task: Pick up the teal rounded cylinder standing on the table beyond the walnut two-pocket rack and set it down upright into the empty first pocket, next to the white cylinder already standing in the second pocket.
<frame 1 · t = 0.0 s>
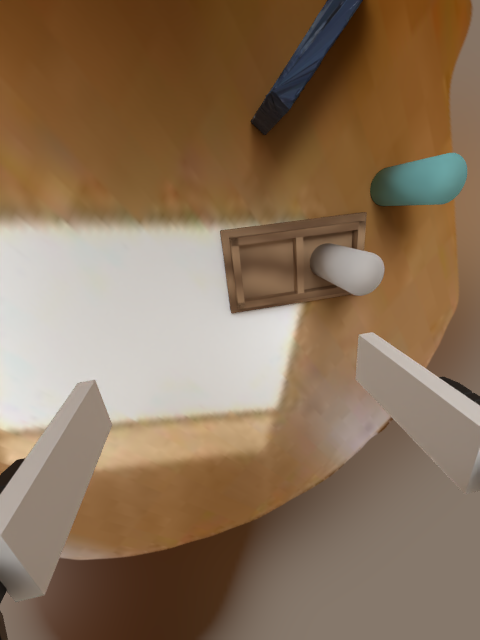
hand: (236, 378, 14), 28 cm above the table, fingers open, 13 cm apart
vhs cassette tape: (303, 58, 32), on the table
teal rounded cylinder: (386, 187, 39), on the table
rack: (294, 263, 41), on the table
white cylinder: (325, 260, 40), point 1 cm above the table, touching rack
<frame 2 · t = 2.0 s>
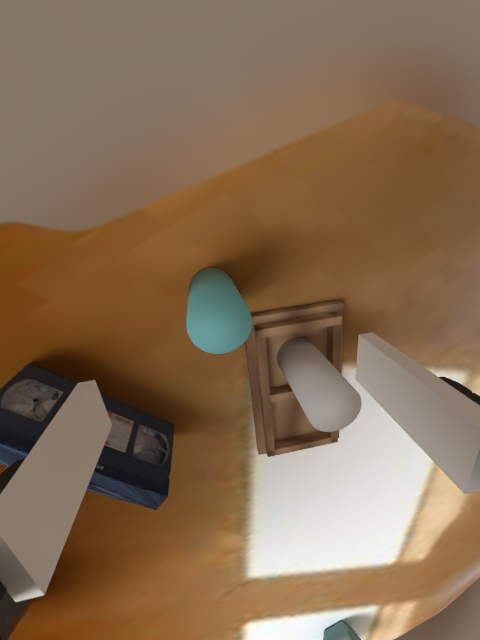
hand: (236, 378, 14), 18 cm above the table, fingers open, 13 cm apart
vhs cassette tape: (104, 402, 33), on the table
teal rounded cylinder: (212, 290, 30), on the table
flower pot: (336, 626, 64), on the table
rack: (294, 381, 36), on the table
white cylinder: (296, 355, 33), point 1 cm above the table, touching rack
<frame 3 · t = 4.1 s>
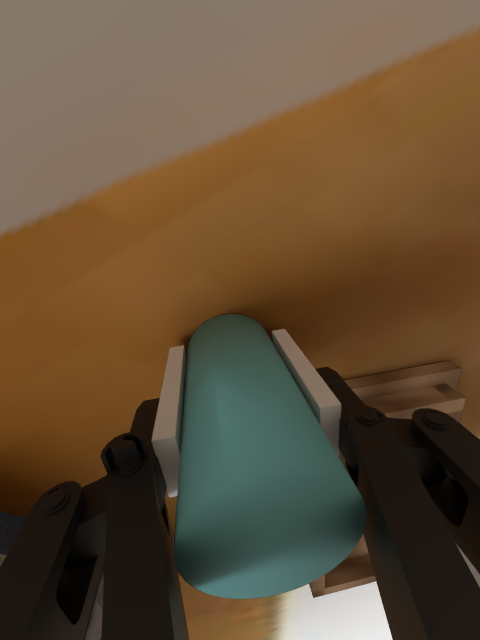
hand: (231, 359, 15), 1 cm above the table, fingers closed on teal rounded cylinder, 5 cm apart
vhs cassette tape: (45, 529, 20), on the table
teal rounded cylinder: (230, 353, 16), on the table, touching gripper
rack: (358, 482, 22), on the table
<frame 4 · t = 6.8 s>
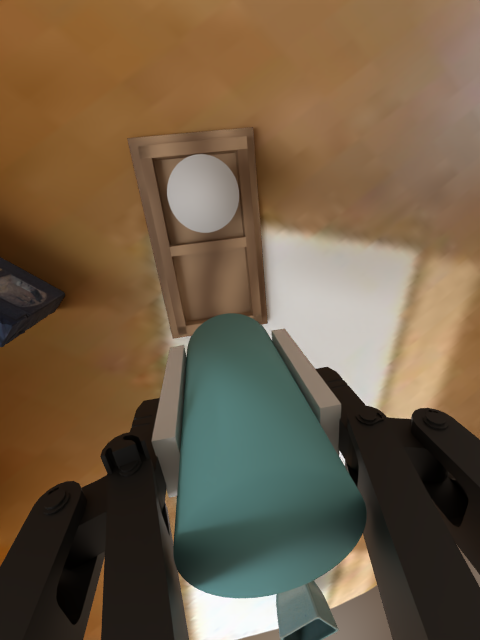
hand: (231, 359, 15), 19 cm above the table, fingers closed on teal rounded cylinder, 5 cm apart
teal rounded cylinder: (229, 352, 16), point 18 cm above the table, touching gripper
flower pot: (294, 575, 59), on the table
rack: (207, 244, 31), on the table
white cylinder: (201, 200, 28), point 1 cm above the table, touching rack
when the fingers open (4 cm above the table, at t = 9.8 s): teal rounded cylinder stays where it is, resting on rack.
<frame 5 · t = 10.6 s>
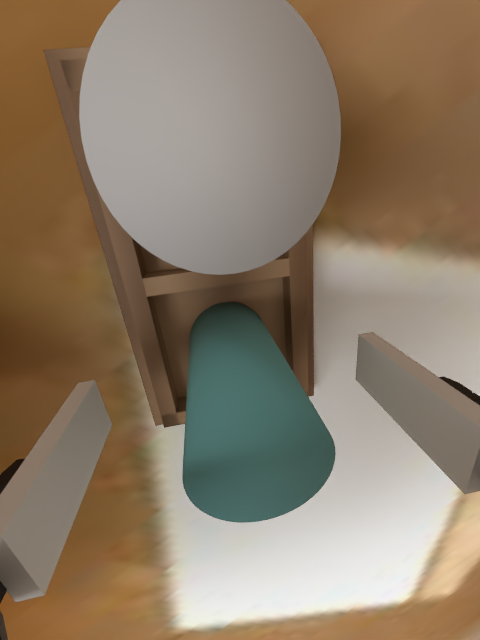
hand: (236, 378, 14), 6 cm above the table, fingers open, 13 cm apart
teal rounded cylinder: (228, 337, 18), point 1 cm above the table, touching rack
rack: (215, 268, 17), on the table
white cylinder: (205, 188, 14), point 1 cm above the table, touching rack
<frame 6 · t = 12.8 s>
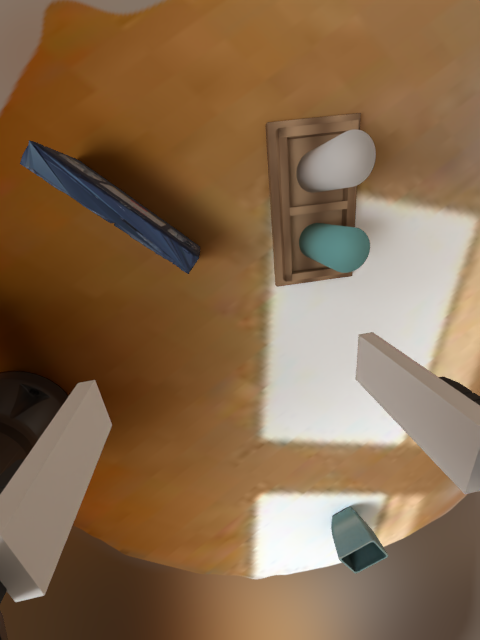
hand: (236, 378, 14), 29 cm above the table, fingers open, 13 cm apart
vhs cassette tape: (139, 213, 37), on the table
teal rounded cylinder: (315, 241, 40), point 1 cm above the table, touching rack
flower pot: (344, 514, 67), on the table
rack: (312, 208, 39), on the table
white cylinder: (314, 172, 36), point 1 cm above the table, touching rack
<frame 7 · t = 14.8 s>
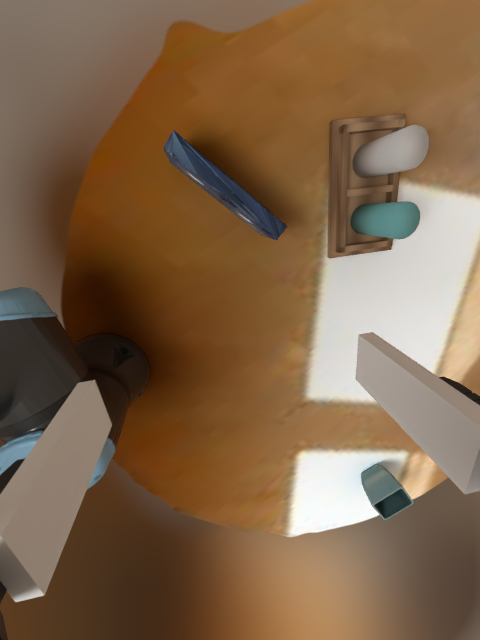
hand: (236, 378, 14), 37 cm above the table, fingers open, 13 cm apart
vhs cassette tape: (222, 194, 44), on the table
teal rounded cylinder: (363, 219, 48), point 1 cm above the table, touching rack
flower pot: (371, 472, 75), on the table
rack: (361, 191, 47), on the table
white cylinder: (366, 161, 44), point 1 cm above the table, touching rack
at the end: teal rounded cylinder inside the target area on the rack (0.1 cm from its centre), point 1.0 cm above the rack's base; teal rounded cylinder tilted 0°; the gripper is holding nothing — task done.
